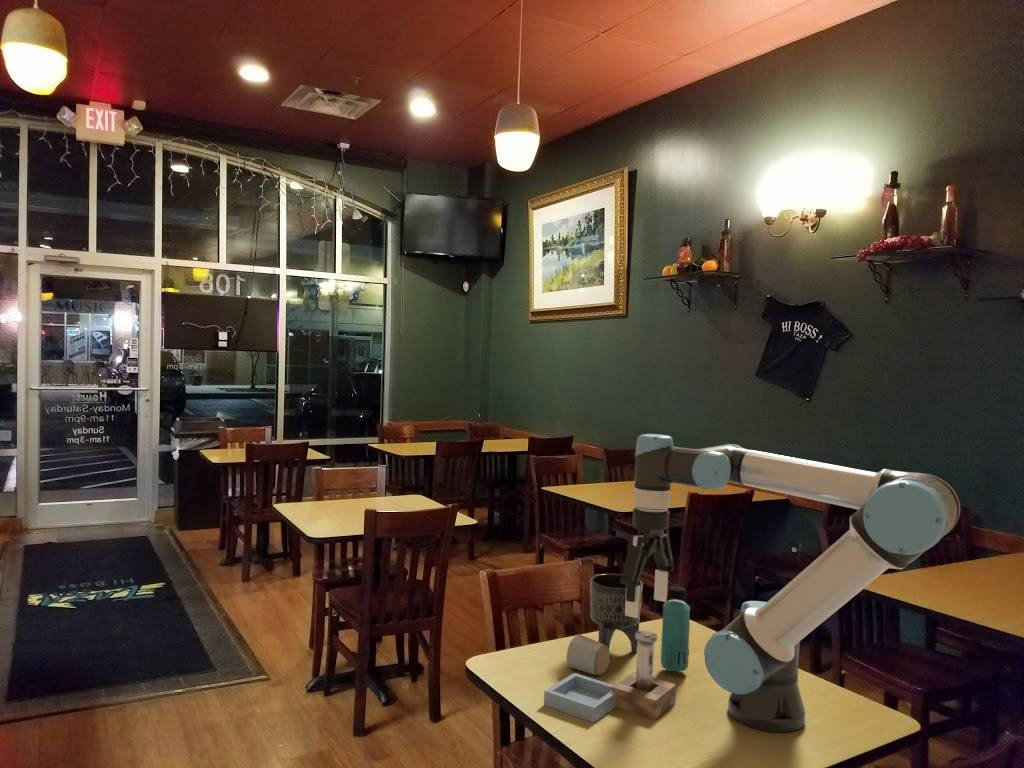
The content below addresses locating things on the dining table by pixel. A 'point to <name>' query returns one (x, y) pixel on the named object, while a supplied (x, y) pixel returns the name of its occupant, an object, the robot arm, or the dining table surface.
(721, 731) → the dining table surface
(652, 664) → the pin
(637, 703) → the block
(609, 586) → the planter
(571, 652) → the ceramic mug
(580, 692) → the tray
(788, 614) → the robot arm
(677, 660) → the beverage bottle
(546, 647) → the dining table surface
